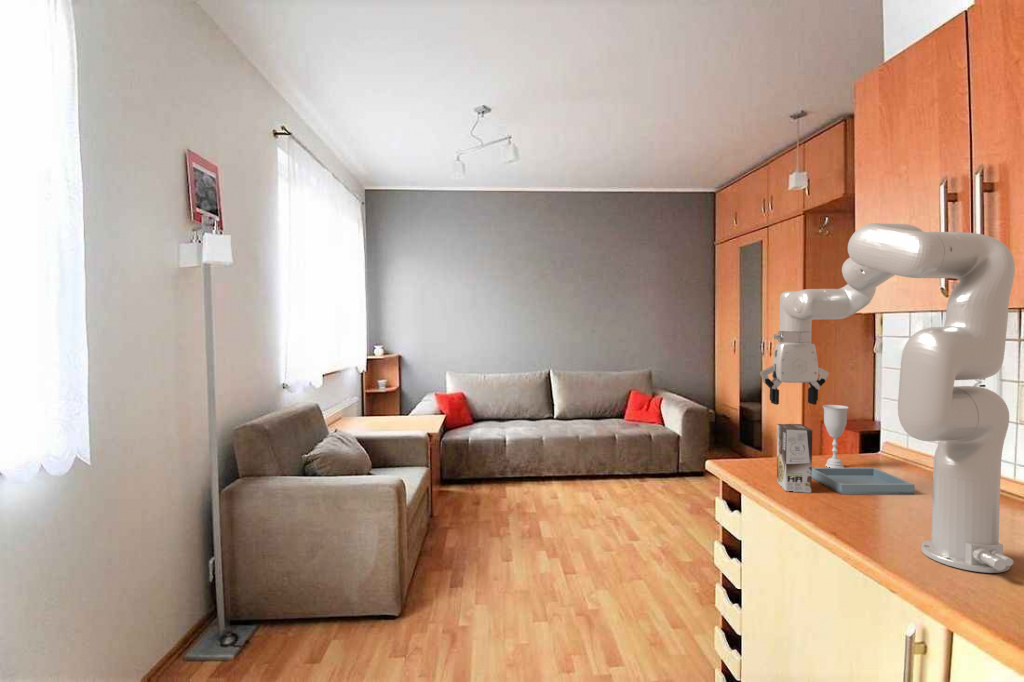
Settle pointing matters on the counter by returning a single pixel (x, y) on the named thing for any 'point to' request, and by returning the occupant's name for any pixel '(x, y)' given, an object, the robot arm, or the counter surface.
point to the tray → (861, 481)
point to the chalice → (835, 429)
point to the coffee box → (794, 457)
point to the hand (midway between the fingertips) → (793, 403)
